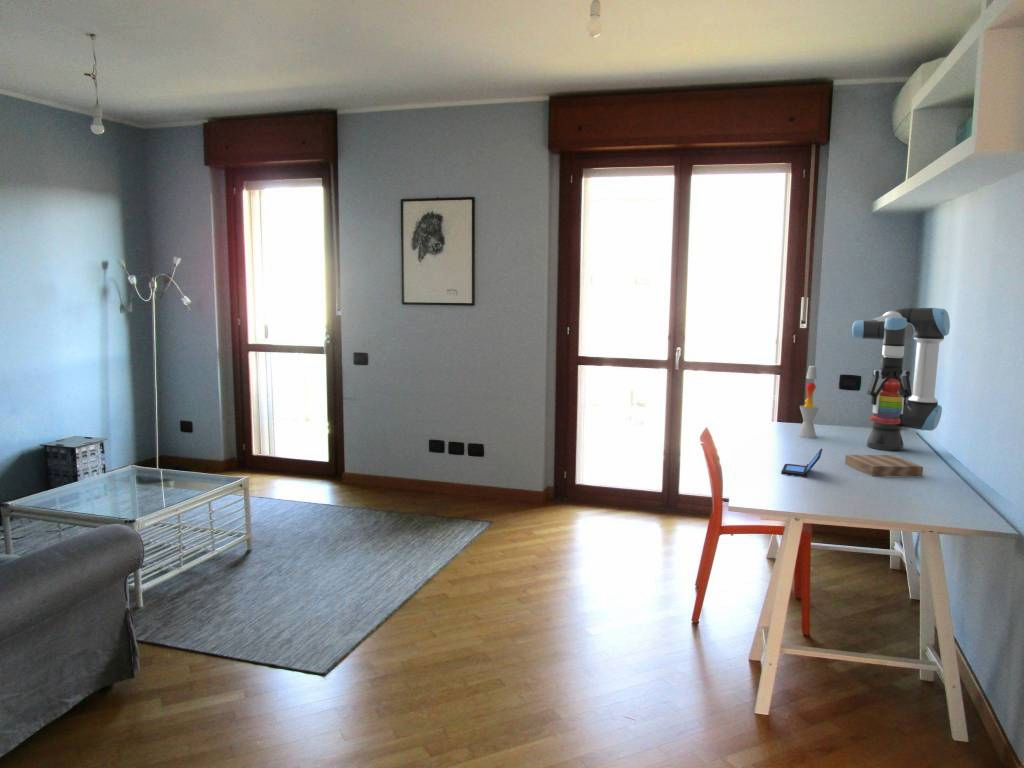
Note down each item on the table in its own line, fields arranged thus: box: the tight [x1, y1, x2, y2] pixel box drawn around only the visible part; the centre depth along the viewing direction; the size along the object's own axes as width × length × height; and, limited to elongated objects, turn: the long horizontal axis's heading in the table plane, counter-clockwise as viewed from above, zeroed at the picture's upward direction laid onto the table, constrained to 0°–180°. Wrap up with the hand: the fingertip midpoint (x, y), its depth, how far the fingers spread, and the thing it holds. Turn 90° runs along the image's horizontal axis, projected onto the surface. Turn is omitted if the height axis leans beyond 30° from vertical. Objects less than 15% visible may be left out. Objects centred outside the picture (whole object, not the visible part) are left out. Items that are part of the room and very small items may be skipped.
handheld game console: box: [781, 448, 823, 478], centre depth 276 cm, size 16×13×9 cm
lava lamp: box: [797, 365, 820, 439], centre depth 349 cm, size 9×9×35 cm
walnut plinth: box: [844, 454, 924, 477], centre depth 283 cm, size 20×20×4 cm
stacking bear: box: [869, 378, 902, 424], centre depth 279 cm, size 11×10×18 cm
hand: (887, 413), depth 280 cm, fingers closed on stacking bear, 9 cm apart
